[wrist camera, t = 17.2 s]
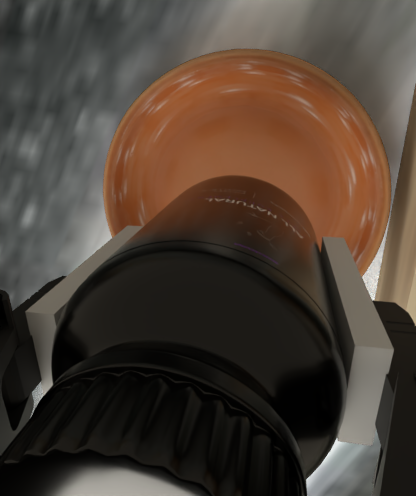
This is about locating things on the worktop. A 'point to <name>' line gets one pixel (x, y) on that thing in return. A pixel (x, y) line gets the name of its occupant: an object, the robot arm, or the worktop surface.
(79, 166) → the worktop surface
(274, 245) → the supplement bottle
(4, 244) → the worktop surface
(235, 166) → the saucer
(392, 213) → the stop bar
